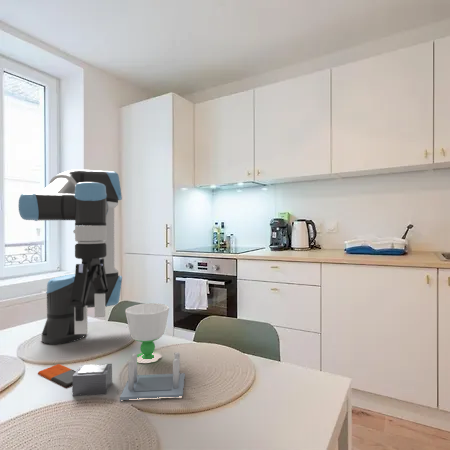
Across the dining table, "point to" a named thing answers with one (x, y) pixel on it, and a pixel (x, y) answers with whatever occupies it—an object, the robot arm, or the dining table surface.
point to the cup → (147, 325)
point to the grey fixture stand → (153, 382)
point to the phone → (59, 375)
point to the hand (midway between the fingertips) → (91, 324)
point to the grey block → (92, 379)
